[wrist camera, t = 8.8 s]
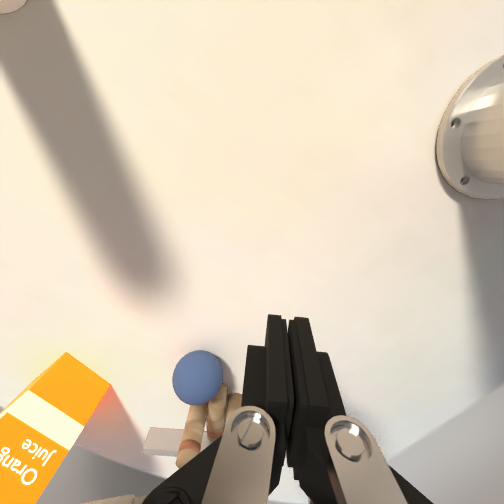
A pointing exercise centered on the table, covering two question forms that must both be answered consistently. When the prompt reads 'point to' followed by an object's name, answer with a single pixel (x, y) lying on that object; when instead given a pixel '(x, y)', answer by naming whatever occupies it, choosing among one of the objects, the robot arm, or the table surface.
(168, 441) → the rail
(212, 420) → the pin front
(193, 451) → the pin
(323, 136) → the table surface
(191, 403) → the ball
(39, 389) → the orange juice
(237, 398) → the pin
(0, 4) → the cylindrical container
